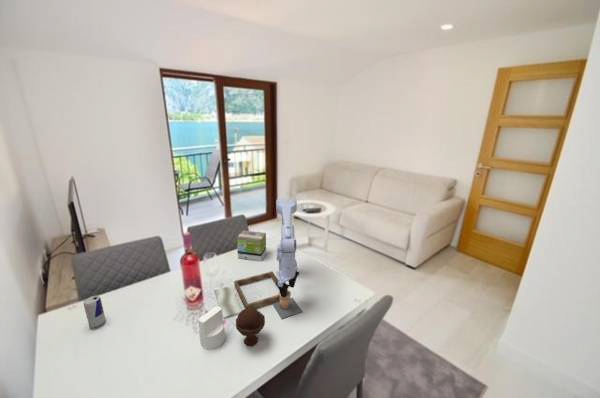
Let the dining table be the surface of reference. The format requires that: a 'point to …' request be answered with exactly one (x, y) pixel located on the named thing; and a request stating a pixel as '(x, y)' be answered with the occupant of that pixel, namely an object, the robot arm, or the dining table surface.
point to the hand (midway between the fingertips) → (287, 291)
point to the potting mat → (291, 311)
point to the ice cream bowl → (250, 325)
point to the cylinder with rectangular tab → (211, 329)
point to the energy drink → (94, 312)
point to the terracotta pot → (285, 301)
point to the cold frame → (230, 302)
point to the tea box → (251, 245)
